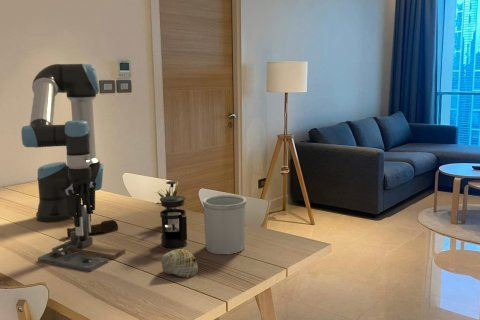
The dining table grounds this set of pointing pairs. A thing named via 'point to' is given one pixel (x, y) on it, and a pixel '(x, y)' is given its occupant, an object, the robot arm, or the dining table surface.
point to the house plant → (170, 221)
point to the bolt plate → (73, 260)
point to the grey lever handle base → (91, 248)
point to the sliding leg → (83, 239)
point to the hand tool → (99, 227)
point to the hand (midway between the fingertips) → (83, 233)
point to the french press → (173, 233)
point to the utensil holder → (224, 223)
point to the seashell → (179, 263)
